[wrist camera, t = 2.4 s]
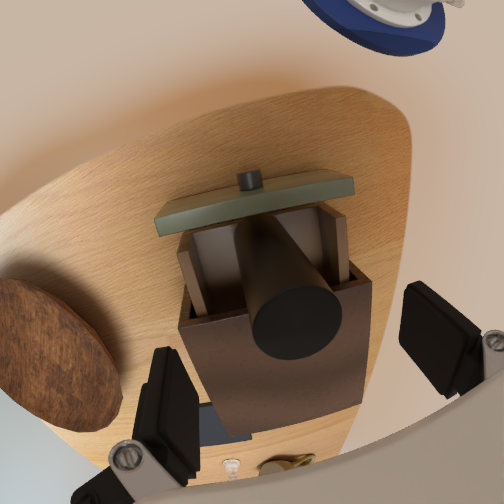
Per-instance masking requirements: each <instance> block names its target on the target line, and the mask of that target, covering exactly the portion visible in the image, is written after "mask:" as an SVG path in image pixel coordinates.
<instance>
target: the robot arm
mask: <svg viewBox="0 0 504 504" xmlns="http://www.w3.org/2000/svg"><path fill="white" fill-rule="evenodd" d="M346 1H348V2H349V3H350V4H351V5H353V6H354V7H355V8H357V9H358V10H360V11H361V12H362V13H364V14H365V15H367V16H369V17H371V18H373V19H375V20H377V21H379V22H381V23H384V24H386V25H390V26H393V27H398V28H412V27H415V26H418V25H421V24H422V23H424V22H425V21H427V19H428V18H429V16H430V13H431V10H432V4H433V3H435V2H440V3H442V2H446V3H448V4H450V5H453V6H455V7H458V8H461V7H463V6H464V0H346ZM480 334H481V330H480V329H479V328H478V327H477V326H476V325H474V324H473V323H472V322H471V321H470V320H469V319H468V318H466V317H465V316H464V315H463V314H462V313H460V312H459V311H458V310H457V309H456V308H454V307H453V306H452V305H451V304H450V303H448V302H447V301H446V300H445V299H443V298H442V297H441V296H440V295H438V294H437V293H436V292H435V291H433V290H432V289H431V288H429V287H428V286H427V285H426V284H424V283H423V282H422V281H416V282H413V283H410V284H408V285H407V288H406V289H405V291H404V297H403V307H402V316H401V324H400V331H399V343H400V345H401V346H402V348H403V349H404V350H405V351H406V352H407V354H408V355H409V356H410V357H411V359H412V360H413V361H414V362H415V363H416V365H417V366H418V367H419V368H420V370H421V371H422V372H423V373H424V375H425V376H426V377H427V378H428V380H429V381H430V382H431V383H432V385H433V386H434V387H435V389H436V390H437V391H438V392H439V394H441V395H444V396H445V397H446V399H449V398H451V397H452V396H454V395H455V394H457V392H458V393H459V394H460V397H459V398H458V399H456V400H454V401H453V402H451V403H450V404H448V405H446V406H445V407H443V408H441V409H440V410H438V411H436V412H434V413H433V414H431V415H429V416H427V417H425V418H424V419H422V420H420V421H418V422H416V423H414V424H412V425H410V426H408V427H406V428H404V429H402V430H400V431H398V432H396V433H394V434H391V435H389V436H387V437H385V438H382V439H380V440H378V441H375V442H373V443H371V444H368V445H366V446H363V447H361V448H358V449H355V450H353V451H350V452H347V453H344V454H341V455H338V456H335V457H332V458H329V459H326V460H323V461H320V462H316V463H313V464H309V465H306V466H302V467H298V468H294V469H290V470H286V471H282V472H277V473H273V474H268V475H263V476H257V477H252V478H246V479H240V480H234V481H227V482H219V483H211V484H203V485H195V486H188V487H186V485H187V484H188V479H196V472H197V471H200V432H199V396H198V393H197V391H196V389H195V387H194V385H193V383H192V381H191V379H190V377H189V375H188V373H187V371H186V369H185V367H184V365H183V363H182V361H181V359H180V357H179V354H178V352H177V350H176V349H171V347H170V346H167V347H161V348H156V349H155V350H154V355H153V359H152V364H151V368H150V373H149V378H148V383H144V384H143V385H142V388H141V392H140V397H139V402H138V407H137V412H136V418H135V423H134V429H133V434H132V440H129V439H128V440H123V441H121V442H119V443H117V444H116V445H115V446H114V447H113V448H112V449H111V451H110V453H109V457H108V459H109V464H110V466H109V467H107V468H106V469H105V470H103V471H102V472H100V473H99V474H98V475H96V476H95V477H94V478H92V479H91V480H89V481H88V482H86V483H85V484H84V485H82V486H81V487H79V488H78V489H77V490H76V491H75V492H74V493H73V495H72V496H71V501H70V502H71V504H504V332H502V331H499V330H491V331H488V332H486V333H485V334H484V336H483V337H482V336H481V335H480Z"/></svg>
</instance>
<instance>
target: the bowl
mask: <svg viewBox="0 0 504 504" xmlns="http://www.w3.org/2000/svg"><path fill="white" fill-rule="evenodd" d="M0 388H1V389H2V390H3V391H4V392H5V393H6V394H7V395H8V396H9V397H11V398H12V399H13V400H14V401H15V402H16V403H18V404H19V405H20V406H22V407H23V408H25V409H26V410H28V411H29V412H31V413H32V414H33V415H35V416H37V417H39V418H41V419H43V420H45V421H46V422H48V423H50V424H52V425H54V426H57V427H61V428H64V429H67V430H71V431H74V432H95V431H98V430H100V429H103V428H105V427H108V425H109V424H110V423H111V422H112V421H113V420H114V419H115V418H116V416H117V415H118V413H119V409H120V406H121V402H122V399H123V396H122V392H121V387H120V382H119V377H118V372H117V368H116V366H115V363H114V360H113V358H112V357H111V355H110V354H109V352H108V350H107V349H106V347H105V346H104V344H103V343H102V341H101V339H100V338H99V336H98V334H97V333H96V331H95V330H94V329H93V328H92V327H91V326H90V325H88V324H87V323H86V322H85V321H84V320H83V319H82V318H81V317H79V316H78V315H77V314H76V313H75V312H74V311H73V310H72V309H71V308H70V307H69V306H68V305H66V304H65V303H64V302H63V301H62V300H61V299H59V298H57V297H55V296H53V295H51V294H50V293H48V292H46V291H44V290H42V289H40V288H38V287H37V286H35V285H33V284H31V283H29V282H27V281H26V280H17V279H4V278H0Z"/></svg>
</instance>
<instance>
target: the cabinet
mask: <svg viewBox="0 0 504 504" xmlns="http://www.w3.org/2000/svg"><path fill="white" fill-rule="evenodd" d="M330 288H331V290H332V291H333V292H334V294H335V295H336V296H337V298H338V299H339V301H340V303H341V306H342V313H343V315H342V323H341V326H340V329H339V331H338V333H337V334H336V336H335V338H334V339H333V340H332V341H331V342H330V343H329V344H328V345H327V346H326V347H325V348H324V349H322V350H321V351H319V352H317V353H316V354H314V355H311V356H309V357H306V358H303V359H298V360H279V359H275V358H272V357H270V356H268V355H266V354H265V353H264V352H262V351H261V350H260V349H259V348H258V346H257V345H256V343H255V341H254V339H253V335H252V330H251V325H250V320H249V315H248V310H247V308H243V309H238V310H234V311H229V312H225V313H220V314H215V315H210V316H205V317H200V318H198V317H197V314H196V312H195V309H194V306H193V303H192V300H191V297H190V294H189V291H188V288H187V285H186V283H185V288H184V294H183V300H182V306H181V312H180V318H179V323H178V330H179V333H180V335H181V338H182V340H183V342H184V345H185V347H186V349H187V352H188V354H189V356H190V358H191V360H192V363H193V365H194V367H195V369H196V371H197V374H198V376H199V378H200V380H201V382H202V384H203V386H204V388H205V390H206V392H207V394H208V396H209V398H210V400H211V402H212V404H213V406H214V408H215V410H216V412H217V414H218V416H219V418H220V420H221V422H222V424H223V425H224V427H225V429H226V431H227V433H228V435H229V436H230V437H234V436H240V435H246V434H252V433H257V432H262V431H267V430H272V429H276V428H281V427H285V426H289V425H293V424H297V423H301V422H304V421H308V420H312V419H315V418H319V417H322V416H325V415H328V414H332V413H335V412H338V411H341V410H344V409H347V408H350V407H352V406H355V405H358V404H361V403H362V398H363V392H364V384H365V377H366V368H367V359H368V349H369V337H370V323H371V303H372V281H371V280H370V279H369V278H368V277H367V276H366V275H365V274H364V273H363V272H362V271H361V270H360V269H359V268H357V267H356V266H355V265H354V264H353V263H352V262H351V261H350V260H349V282H347V283H343V284H340V285H336V286H332V287H330Z"/></svg>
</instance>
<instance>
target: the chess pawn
mask: <svg viewBox="0 0 504 504" xmlns="http://www.w3.org/2000/svg"><path fill="white" fill-rule="evenodd" d="M239 464H240V461H238V460H236V459H228V460H225V461H224V462H223V465H224V466H225V468H226V470H227V472H228V473H229V475H228V477H229V478H230V479H229V480H228V481H234V480H237V479H236V478H235V477H237V475H235V473H236V472H237V470H238V467H239Z"/></svg>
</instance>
